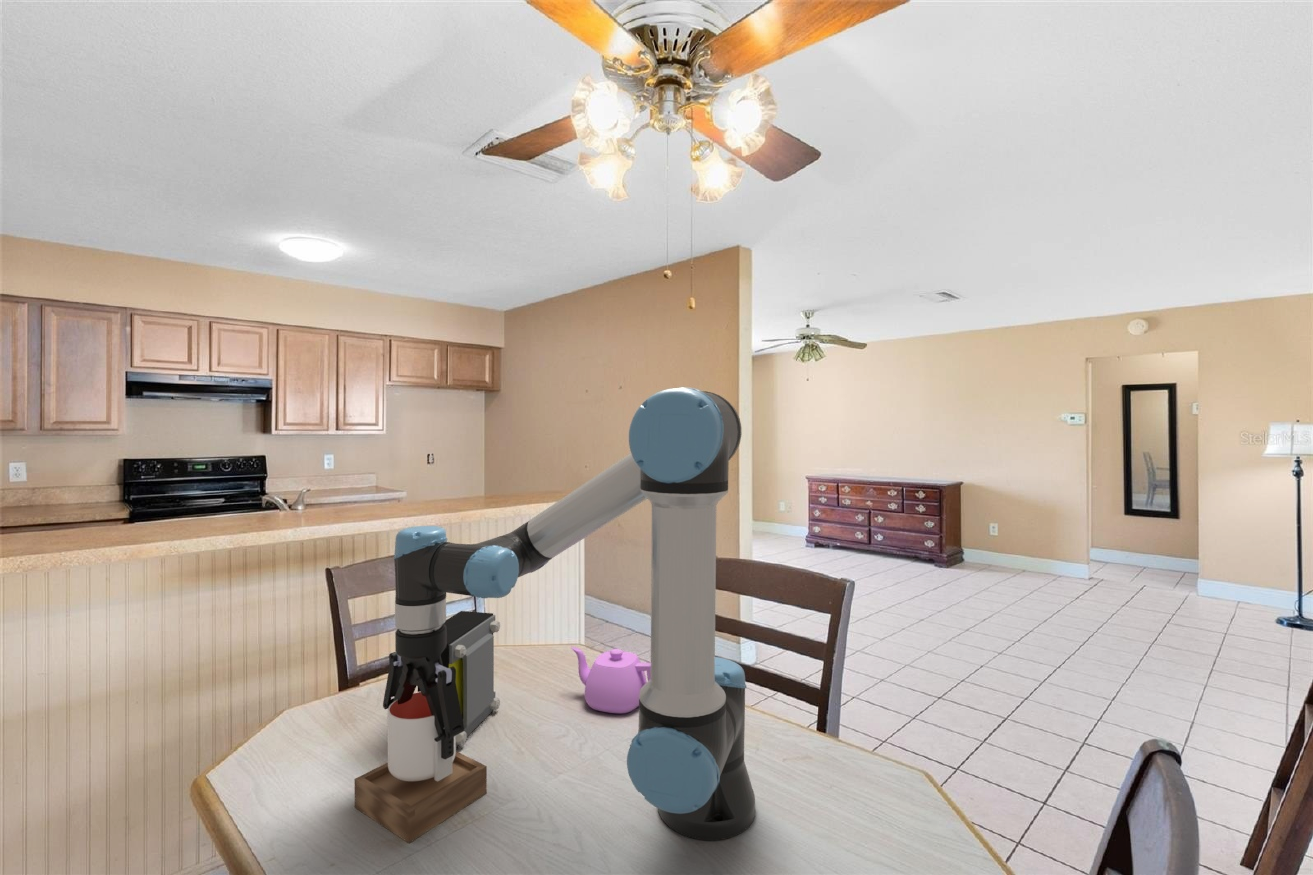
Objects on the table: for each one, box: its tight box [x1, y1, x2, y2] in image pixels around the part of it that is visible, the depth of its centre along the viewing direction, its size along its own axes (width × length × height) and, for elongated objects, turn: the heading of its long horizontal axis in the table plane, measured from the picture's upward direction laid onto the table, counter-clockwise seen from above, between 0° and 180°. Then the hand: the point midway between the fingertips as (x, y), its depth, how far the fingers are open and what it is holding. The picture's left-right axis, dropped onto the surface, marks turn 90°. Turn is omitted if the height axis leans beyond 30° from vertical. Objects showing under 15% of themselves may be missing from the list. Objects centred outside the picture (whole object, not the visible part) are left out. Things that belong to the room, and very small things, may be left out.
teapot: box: [570, 646, 651, 715], centre depth 130 cm, size 13×20×11 cm, turn 73°
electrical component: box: [417, 610, 501, 748], centre depth 119 cm, size 18×10×20 cm, turn 168°
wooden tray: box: [354, 750, 488, 844], centre depth 96 cm, size 14×14×4 cm
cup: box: [386, 691, 457, 781], centre depth 96 cm, size 10×10×10 cm
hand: (422, 765), depth 96 cm, fingers closed on cup, 10 cm apart
